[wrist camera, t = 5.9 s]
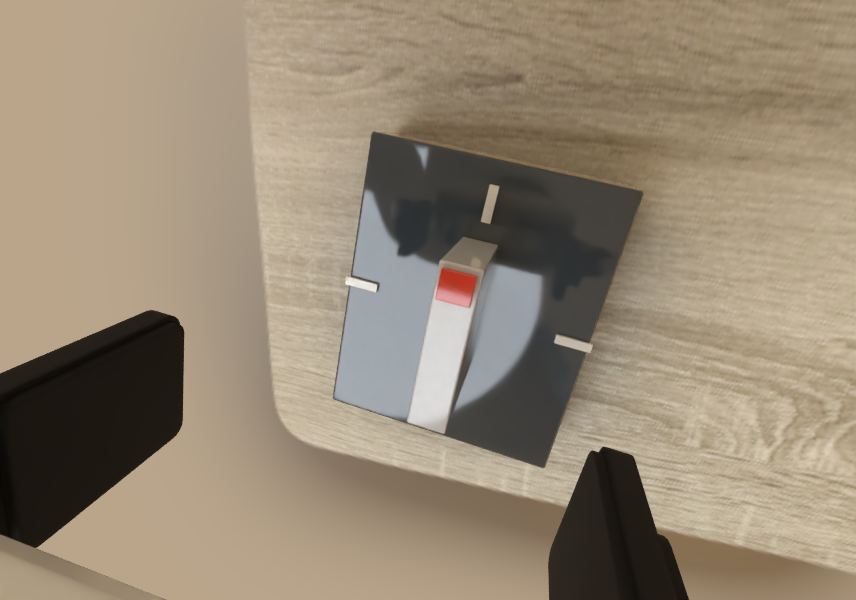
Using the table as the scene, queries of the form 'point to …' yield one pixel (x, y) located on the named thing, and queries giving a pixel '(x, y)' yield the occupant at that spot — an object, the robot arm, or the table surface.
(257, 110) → the table surface
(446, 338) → the tap lever
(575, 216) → the base
